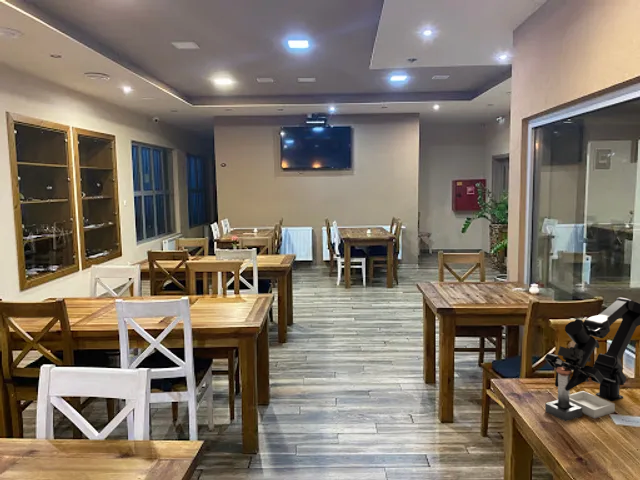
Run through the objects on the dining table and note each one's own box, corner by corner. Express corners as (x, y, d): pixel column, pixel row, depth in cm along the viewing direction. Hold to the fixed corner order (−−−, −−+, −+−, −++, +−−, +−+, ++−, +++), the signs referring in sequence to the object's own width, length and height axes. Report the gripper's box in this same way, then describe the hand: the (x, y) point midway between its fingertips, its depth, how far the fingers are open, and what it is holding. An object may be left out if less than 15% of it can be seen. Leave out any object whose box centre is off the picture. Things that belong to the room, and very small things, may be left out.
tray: (583, 398, 174) (583, 390, 174) (614, 412, 163) (614, 403, 163) (563, 404, 170) (563, 396, 170) (594, 418, 159) (594, 410, 159)
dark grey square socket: (561, 406, 168) (562, 398, 168) (582, 416, 161) (582, 407, 161) (545, 411, 165) (545, 403, 165) (565, 421, 158) (565, 412, 158)
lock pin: (562, 401, 166) (563, 365, 164) (574, 407, 162) (574, 370, 160) (553, 404, 164) (553, 368, 163) (564, 409, 160) (565, 372, 158)
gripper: (547, 331, 170) (526, 367, 167) (598, 345, 154) (576, 385, 150) (562, 348, 175) (541, 383, 171) (612, 363, 158) (591, 403, 154)
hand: (561, 388), depth 161 cm, fingers closed on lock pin, 4 cm apart
